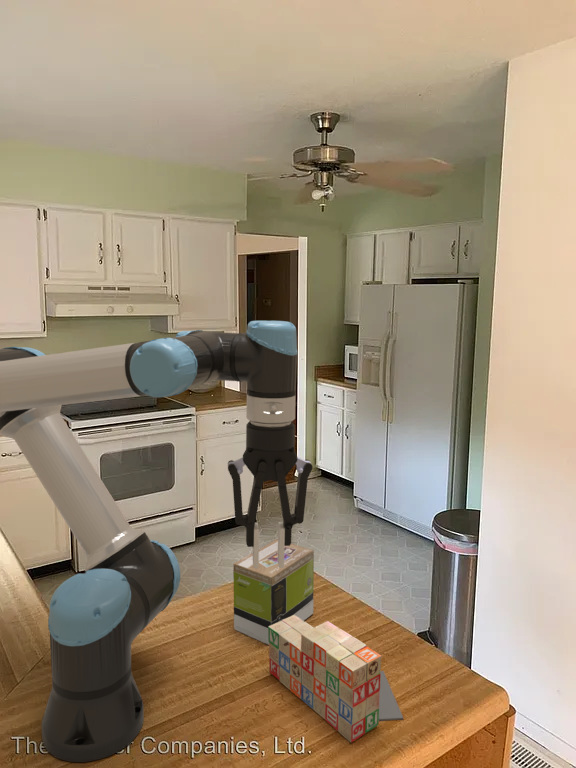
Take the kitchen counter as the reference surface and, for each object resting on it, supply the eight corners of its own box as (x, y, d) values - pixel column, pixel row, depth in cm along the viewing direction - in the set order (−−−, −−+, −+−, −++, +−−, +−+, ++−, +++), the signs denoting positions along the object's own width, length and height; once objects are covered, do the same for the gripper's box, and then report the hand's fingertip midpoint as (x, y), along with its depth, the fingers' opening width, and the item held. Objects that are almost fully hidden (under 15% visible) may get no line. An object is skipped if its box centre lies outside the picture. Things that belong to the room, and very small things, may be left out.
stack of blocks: (267, 673, 108) (267, 609, 106) (295, 659, 112) (295, 598, 110) (351, 743, 91) (353, 670, 89) (380, 725, 95) (382, 654, 93)
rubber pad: (360, 722, 96) (360, 720, 96) (345, 674, 108) (345, 672, 108) (403, 719, 97) (403, 717, 97) (383, 672, 109) (383, 670, 109)
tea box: (276, 600, 133) (277, 536, 131) (314, 615, 127) (316, 549, 125) (231, 630, 121) (232, 561, 119) (271, 648, 115) (272, 576, 113)
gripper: (217, 427, 88) (216, 577, 92) (327, 426, 90) (322, 573, 94) (217, 416, 95) (216, 555, 99) (319, 416, 97) (315, 552, 101)
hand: (268, 564), depth 96 cm, fingers open, 3 cm apart
